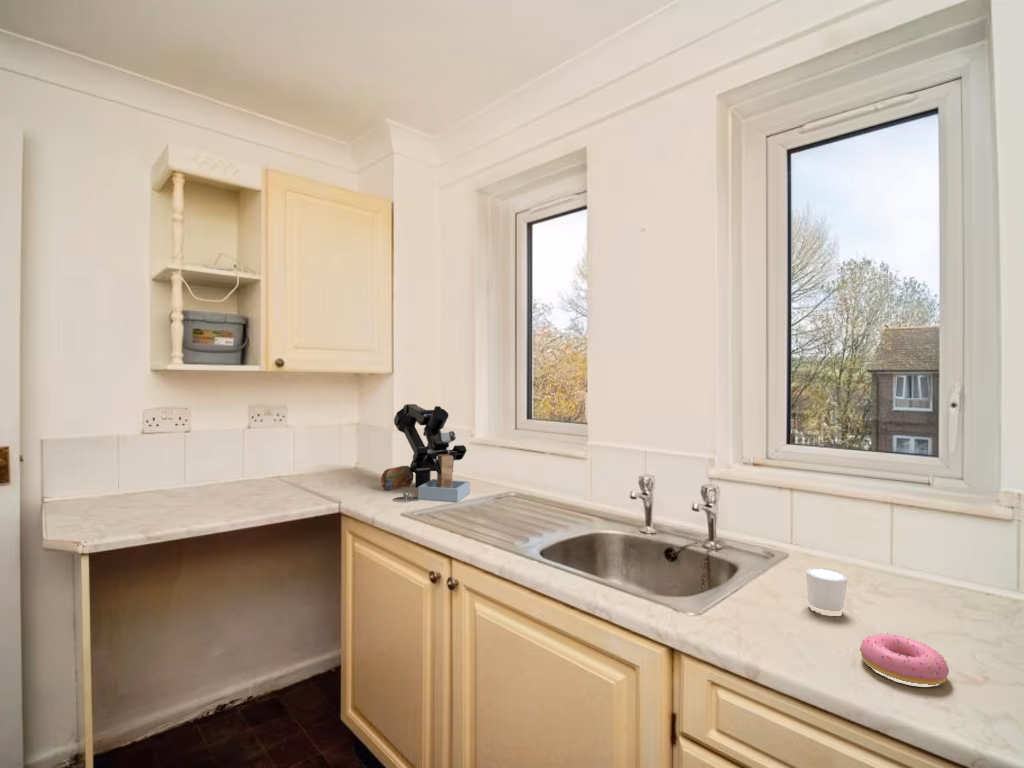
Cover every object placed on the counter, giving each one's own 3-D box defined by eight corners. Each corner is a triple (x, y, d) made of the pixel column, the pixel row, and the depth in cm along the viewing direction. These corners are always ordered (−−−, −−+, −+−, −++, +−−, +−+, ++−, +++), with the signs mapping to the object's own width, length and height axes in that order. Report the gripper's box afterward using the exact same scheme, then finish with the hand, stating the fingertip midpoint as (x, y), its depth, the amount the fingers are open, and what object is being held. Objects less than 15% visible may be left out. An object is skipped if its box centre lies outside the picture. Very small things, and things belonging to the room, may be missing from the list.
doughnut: (846, 666, 84) (847, 639, 84) (877, 647, 90) (878, 622, 90) (931, 702, 75) (932, 672, 75) (960, 678, 81) (961, 650, 81)
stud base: (399, 497, 192) (399, 488, 192) (423, 499, 190) (423, 490, 190) (387, 503, 183) (387, 493, 183) (413, 505, 181) (413, 495, 181)
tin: (385, 493, 199) (386, 470, 199) (379, 492, 200) (379, 469, 200) (414, 486, 211) (414, 464, 211) (407, 485, 213) (408, 463, 213)
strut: (436, 489, 193) (437, 454, 192) (447, 488, 195) (448, 454, 194) (441, 491, 189) (442, 456, 189) (452, 490, 191) (452, 455, 191)
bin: (432, 492, 200) (432, 479, 200) (469, 495, 197) (469, 481, 197) (418, 501, 187) (418, 486, 186) (457, 504, 184) (457, 489, 183)
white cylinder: (830, 620, 100) (831, 582, 99) (796, 605, 106) (797, 569, 106) (854, 614, 102) (856, 577, 102) (820, 600, 109) (822, 565, 108)
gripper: (416, 424, 190) (427, 461, 181) (464, 423, 200) (478, 457, 190) (408, 444, 197) (418, 480, 188) (455, 441, 207) (467, 476, 197)
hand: (446, 473), depth 191 cm, fingers closed on strut, 4 cm apart
